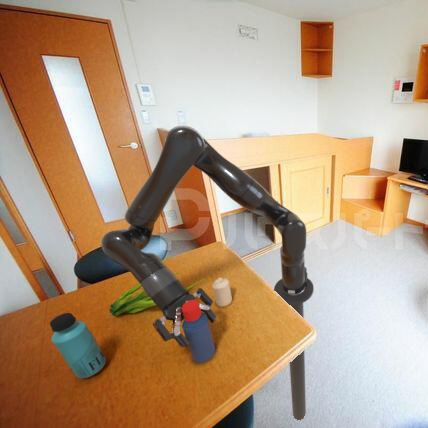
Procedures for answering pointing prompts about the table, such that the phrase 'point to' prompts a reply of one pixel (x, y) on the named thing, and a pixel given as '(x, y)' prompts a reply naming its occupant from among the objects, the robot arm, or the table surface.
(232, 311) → the table surface
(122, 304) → the decorative plant
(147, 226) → the robot arm
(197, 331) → the water bottle
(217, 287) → the candle
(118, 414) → the table surface
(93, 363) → the beverage bottle
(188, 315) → the cap
